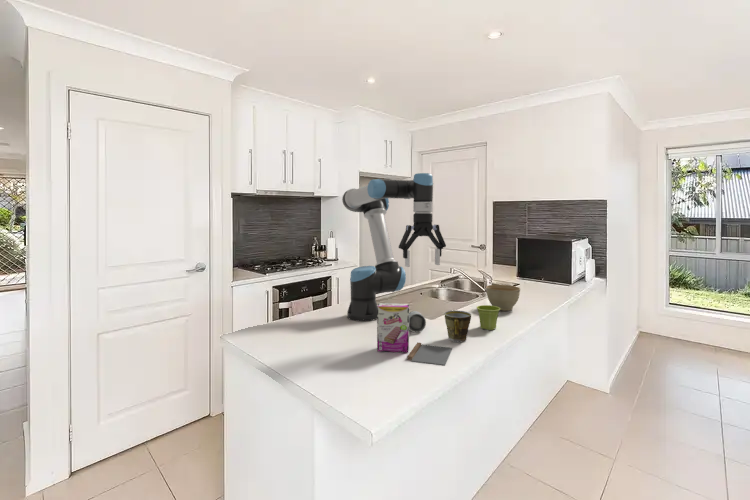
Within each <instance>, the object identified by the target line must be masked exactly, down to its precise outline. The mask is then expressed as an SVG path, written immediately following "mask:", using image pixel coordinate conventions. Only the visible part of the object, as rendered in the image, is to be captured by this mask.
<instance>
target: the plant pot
mask: <svg viewBox="0 0 750 500" xmlns="http://www.w3.org/2000/svg"><path fill="white" fill-rule="evenodd" d="M476 309H477V312H478V319H479V325H480V326H479V327H480V328H481V329H483V330H488V331H493V330H495V329H496V328H497V322H498V316H499V313H500V311H501V310H500V308H499V307H497V306H492V305H485V304H484V305H483V304H482V305H478V306H476Z"/></svg>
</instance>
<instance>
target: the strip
mask: <svg viewBox="0 0 750 500" xmlns="http://www.w3.org/2000/svg"><path fill="white" fill-rule="evenodd" d="M421 345H422V342H416V344H415V345H414V347H413V348H412V349H411V351H410V352H408V355H407V361H411V360H412V359H413V357H414V356H415V354H416V353H417V351H418V350H419V348H420V347H421Z"/></svg>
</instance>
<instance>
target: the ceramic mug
mask: <svg viewBox="0 0 750 500" xmlns="http://www.w3.org/2000/svg"><path fill="white" fill-rule="evenodd" d="M426 325H427V320H426V318H425V316H424V315H422V313H421V312H419V311H417V310H413V311H409V331H411V332H412V333H420V332H422V331H423V330H425V328H426Z"/></svg>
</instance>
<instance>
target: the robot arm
mask: <svg viewBox="0 0 750 500" xmlns="http://www.w3.org/2000/svg"><path fill="white" fill-rule="evenodd" d="M433 180H434V179H433V174H432V173H428V172H427V173H426V172H422V173H419V172H417V173H414V174H413V179H409V180H408V179H406V180H405V179H381V178H377V179H370V180H369V182H368V184H367V185H365V186H361V187H358V188H350V189H348V190H346V191H345V192H344V193H343V195H342V199H341V201H342V204H343V206H344V207H345V209H347V210H348V211H350V212H352V213H363V217H364V218H365V219H366V220H367V222H368V227H369V233H370V236H371V240H372V246H373V251H374V256H375V260H376V263H375V265H364V266H363V265H362V266H359V267H354V268H353V269H351V271H350V276H349V278H350V280H349V281H350V302H349V305H348V309H347V312H346V314H347V317H346V318H347V319H349V318H350V319H349V320H351V319H352V320H351V321H356V320H359V321H358V322H366V321H365V320H369V321H373V319H375V320H377V319H376V318H377V306H378V303H377V298H376V297H377V296H376V295H377V294H383V293H394V292H398V291H401V290H402V289H403V288H405V287H404V286H405V284H406V281H407V280H406V279H407V278H406V277H407V276H406V270H405V268H404V267H407V268H410V263H411V261H410V260H411V259H410V250H409V249H410V248H411V246H412V245H413V244H414V242H415V241H416V239H418V237H428V238H429V239H430V241H431V242H432V244H434V246H435V247H436V248H434V265H436V266H440V265H441V257H442V254H443V253H442V251H443V250H444V248H446V246H447V244H446V242H445V240H444V237H443V235H442V232H441V230H440V225H439V224H433V213H432V212H433V198H434V197H433V196H434V193H433V192H434V189H433V188H434V183H433V182H434V181H433ZM389 199H404V200H411V199H413V207H412V208H413V218H412V219H413V220H412V221H413V224H412V225H409V224H407V225H406V226H405V231H404V234H403V236H402V239H401V240H400V243H399V245H398V249H400V250H402V258H403V259H404V267H403V266H401V265H400V266H399V261H397V260H396V259H395V258H394V254H393V253H394V252H393V249H392V244H391V241H390V235H389V232H388V226H387V222H386V217H385V216H386V214H387V211H388V209H389V207H390V204H389V203H390V202H389ZM412 231H413V232H412ZM432 231H433V232H434V233H433V232H432ZM411 233H412V234H411Z"/></svg>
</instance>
